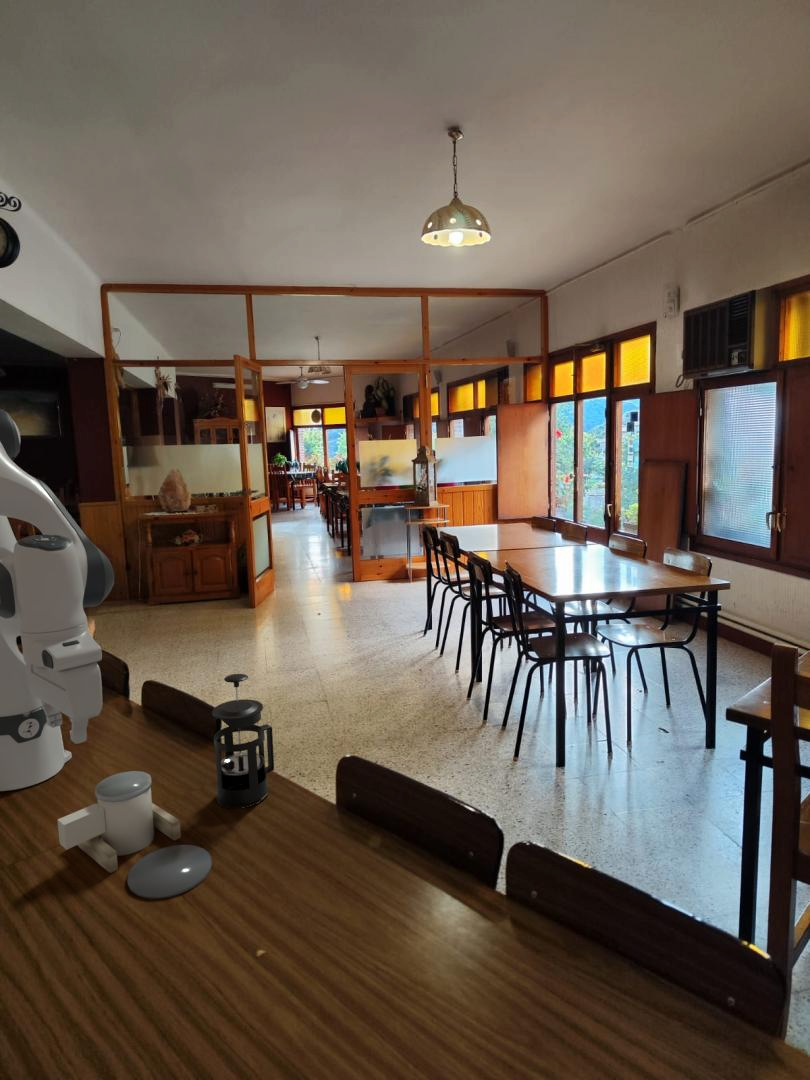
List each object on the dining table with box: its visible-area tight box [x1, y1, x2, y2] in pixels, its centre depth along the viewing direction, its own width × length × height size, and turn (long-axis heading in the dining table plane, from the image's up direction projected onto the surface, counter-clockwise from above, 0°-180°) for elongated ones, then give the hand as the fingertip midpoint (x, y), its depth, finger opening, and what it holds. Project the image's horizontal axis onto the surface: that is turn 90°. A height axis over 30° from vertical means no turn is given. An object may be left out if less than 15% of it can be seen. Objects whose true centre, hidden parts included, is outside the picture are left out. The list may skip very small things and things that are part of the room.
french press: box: [212, 673, 275, 809], centre depth 121 cm, size 12×9×23 cm
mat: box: [127, 844, 213, 900], centre depth 100 cm, size 12×12×1 cm
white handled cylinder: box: [57, 770, 155, 857], centre depth 106 cm, size 14×8×10 cm, turn 140°
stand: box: [76, 802, 182, 874], centre depth 108 cm, size 12×12×3 cm
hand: (66, 733), depth 100 cm, fingers open, 8 cm apart
